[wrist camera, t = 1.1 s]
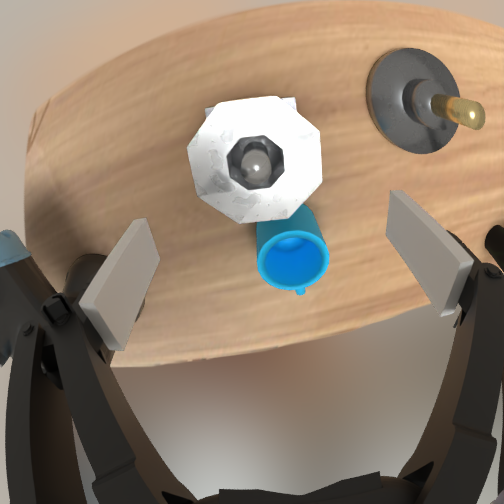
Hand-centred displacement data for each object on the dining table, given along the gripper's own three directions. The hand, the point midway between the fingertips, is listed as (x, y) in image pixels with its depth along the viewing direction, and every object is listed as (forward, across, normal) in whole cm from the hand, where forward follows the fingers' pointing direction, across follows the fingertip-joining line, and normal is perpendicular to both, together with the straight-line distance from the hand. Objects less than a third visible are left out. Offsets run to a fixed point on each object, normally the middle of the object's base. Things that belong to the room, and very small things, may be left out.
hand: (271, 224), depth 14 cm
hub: (+20, +20, +6) cm, 29 cm away
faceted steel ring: (+15, 0, 0) cm, 15 cm away
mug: (+21, +3, -14) cm, 25 cm away
